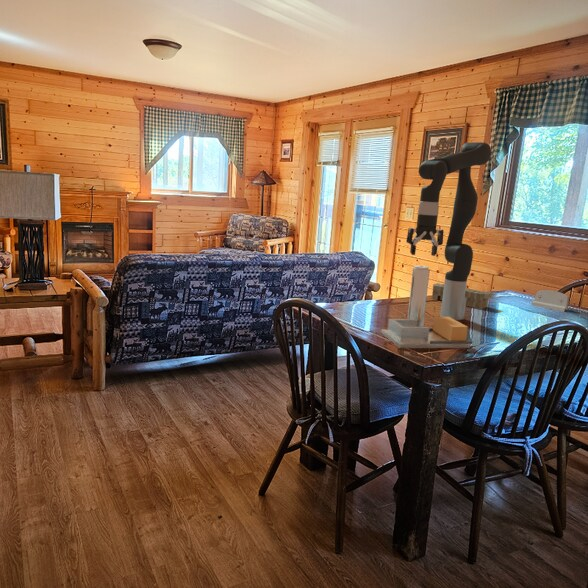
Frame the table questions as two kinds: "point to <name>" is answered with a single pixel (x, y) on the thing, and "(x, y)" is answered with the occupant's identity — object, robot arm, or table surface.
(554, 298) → the hinge
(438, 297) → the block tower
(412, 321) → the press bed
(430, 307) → the table surface
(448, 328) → the block
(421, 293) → the air filter
